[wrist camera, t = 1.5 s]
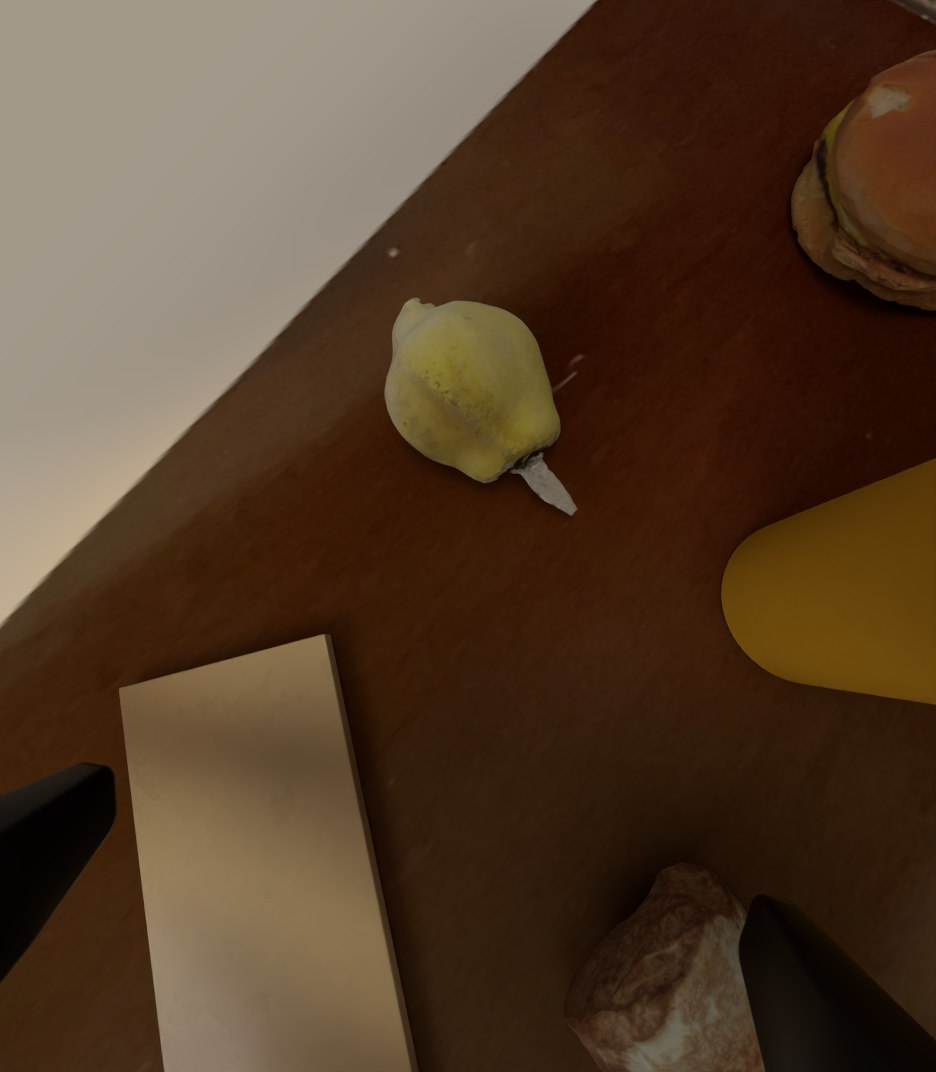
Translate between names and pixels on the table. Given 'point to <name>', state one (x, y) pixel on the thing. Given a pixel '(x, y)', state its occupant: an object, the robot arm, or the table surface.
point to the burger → (877, 188)
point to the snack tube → (844, 591)
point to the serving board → (261, 870)
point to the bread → (669, 983)
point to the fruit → (474, 393)
